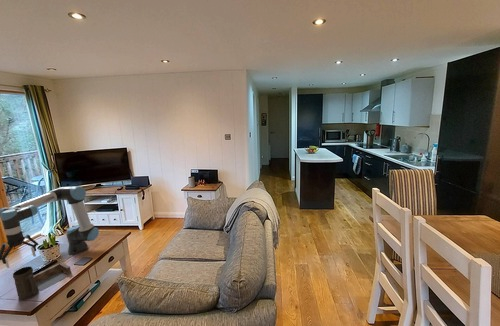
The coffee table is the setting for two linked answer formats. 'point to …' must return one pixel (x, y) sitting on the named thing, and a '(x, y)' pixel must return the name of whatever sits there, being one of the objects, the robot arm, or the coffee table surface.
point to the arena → (52, 271)
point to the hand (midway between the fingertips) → (21, 261)
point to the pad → (51, 281)
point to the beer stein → (25, 283)
